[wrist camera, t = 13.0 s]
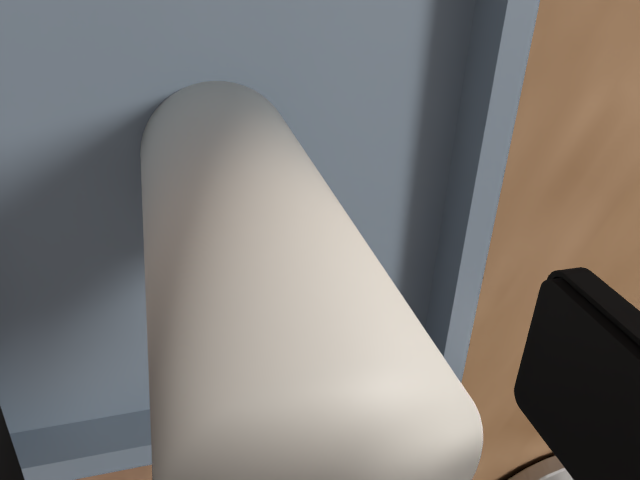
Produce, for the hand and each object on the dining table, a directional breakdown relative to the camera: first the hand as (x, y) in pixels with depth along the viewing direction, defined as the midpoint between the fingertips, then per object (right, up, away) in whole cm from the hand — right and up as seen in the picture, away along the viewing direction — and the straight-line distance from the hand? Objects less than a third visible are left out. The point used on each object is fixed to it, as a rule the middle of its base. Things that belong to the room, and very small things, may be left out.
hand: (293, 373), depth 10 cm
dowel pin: (-3, +5, +8) cm, 10 cm away
